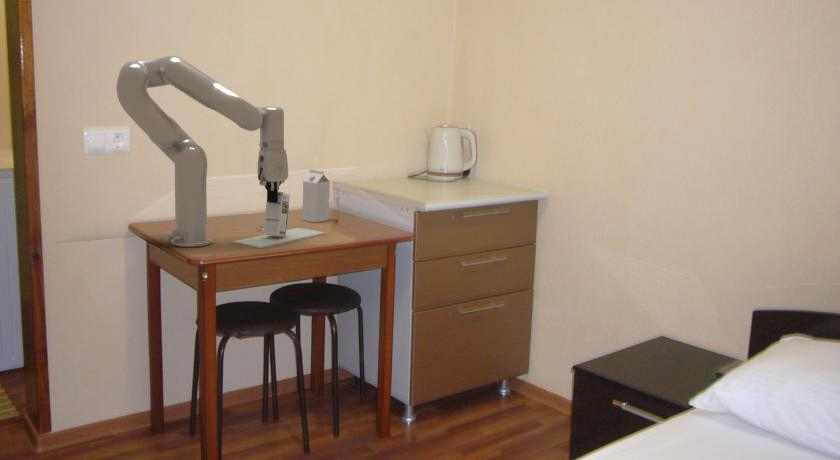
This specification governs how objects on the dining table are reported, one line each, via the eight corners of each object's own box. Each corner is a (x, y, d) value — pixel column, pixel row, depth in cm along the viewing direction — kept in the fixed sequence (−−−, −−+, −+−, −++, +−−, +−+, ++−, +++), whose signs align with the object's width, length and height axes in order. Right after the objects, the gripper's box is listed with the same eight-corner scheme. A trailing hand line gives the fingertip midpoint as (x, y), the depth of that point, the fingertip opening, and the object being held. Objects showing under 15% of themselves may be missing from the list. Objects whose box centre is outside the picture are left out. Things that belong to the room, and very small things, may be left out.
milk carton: (315, 218, 298) (316, 169, 295) (329, 220, 294) (330, 171, 291) (302, 220, 293) (303, 170, 289) (316, 222, 288) (316, 172, 285)
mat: (260, 248, 242) (260, 246, 242) (232, 243, 248) (232, 241, 248) (325, 234, 269) (325, 232, 268) (298, 229, 275) (298, 227, 275)
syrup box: (278, 235, 252) (284, 191, 253) (262, 234, 253) (267, 190, 254) (285, 237, 257) (290, 194, 258) (269, 235, 259) (274, 192, 260)
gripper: (264, 147, 240) (264, 206, 244) (296, 145, 253) (296, 200, 256) (246, 146, 244) (247, 203, 248) (279, 143, 257) (279, 198, 260)
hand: (272, 201), depth 252 cm, fingers closed
